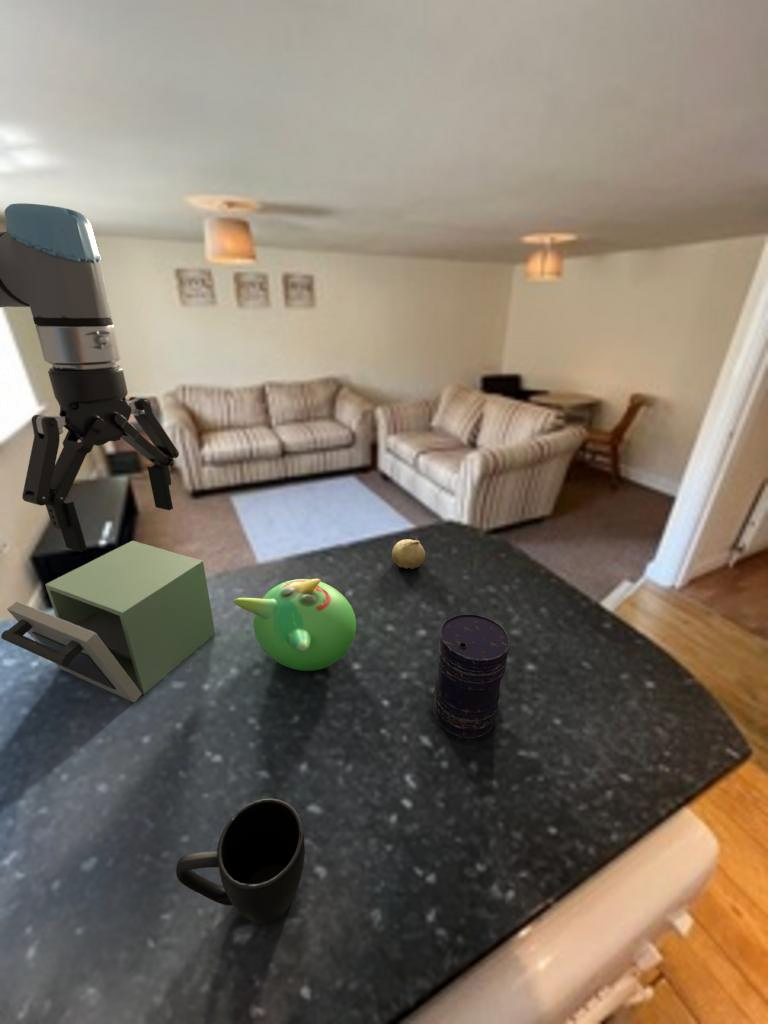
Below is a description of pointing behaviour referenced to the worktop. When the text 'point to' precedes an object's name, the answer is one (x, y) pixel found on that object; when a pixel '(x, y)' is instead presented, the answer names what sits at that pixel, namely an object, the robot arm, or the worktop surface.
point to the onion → (408, 554)
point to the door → (70, 649)
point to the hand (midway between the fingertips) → (124, 526)
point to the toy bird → (302, 623)
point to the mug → (253, 862)
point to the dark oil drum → (469, 674)
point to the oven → (139, 607)
